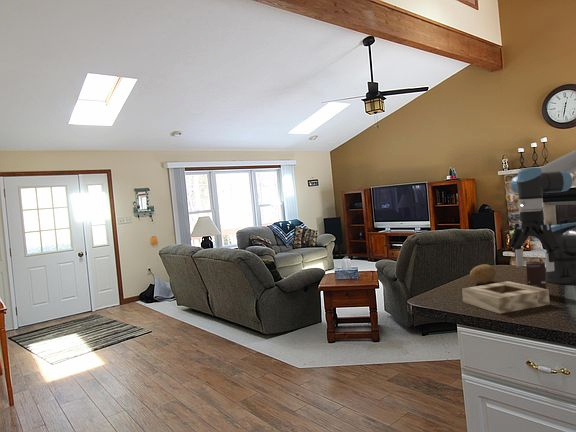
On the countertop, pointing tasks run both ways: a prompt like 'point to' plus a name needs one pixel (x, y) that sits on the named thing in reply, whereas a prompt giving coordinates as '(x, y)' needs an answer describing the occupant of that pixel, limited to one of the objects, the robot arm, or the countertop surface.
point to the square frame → (505, 297)
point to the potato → (483, 274)
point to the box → (536, 274)
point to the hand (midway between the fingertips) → (534, 268)
